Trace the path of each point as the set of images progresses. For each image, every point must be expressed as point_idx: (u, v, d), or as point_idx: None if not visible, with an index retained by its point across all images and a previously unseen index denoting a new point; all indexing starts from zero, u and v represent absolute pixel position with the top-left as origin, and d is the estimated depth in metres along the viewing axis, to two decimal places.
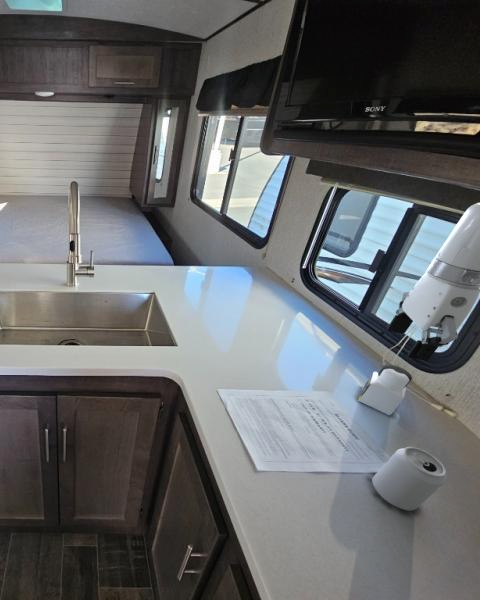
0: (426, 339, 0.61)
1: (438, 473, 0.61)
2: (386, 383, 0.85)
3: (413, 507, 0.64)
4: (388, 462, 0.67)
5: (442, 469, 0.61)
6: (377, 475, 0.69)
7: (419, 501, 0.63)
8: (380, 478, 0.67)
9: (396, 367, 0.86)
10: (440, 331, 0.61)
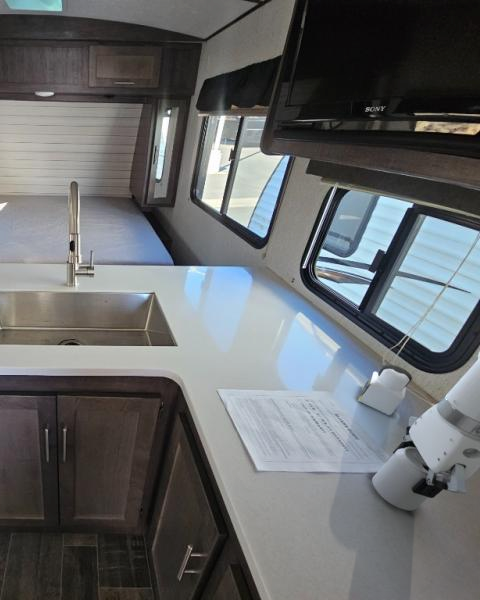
0: (432, 481, 0.58)
1: (438, 473, 0.61)
2: (386, 383, 0.85)
3: (413, 507, 0.64)
4: (388, 462, 0.67)
5: None
6: (377, 475, 0.69)
7: (419, 501, 0.63)
8: (380, 478, 0.67)
9: (396, 367, 0.86)
10: (448, 475, 0.58)
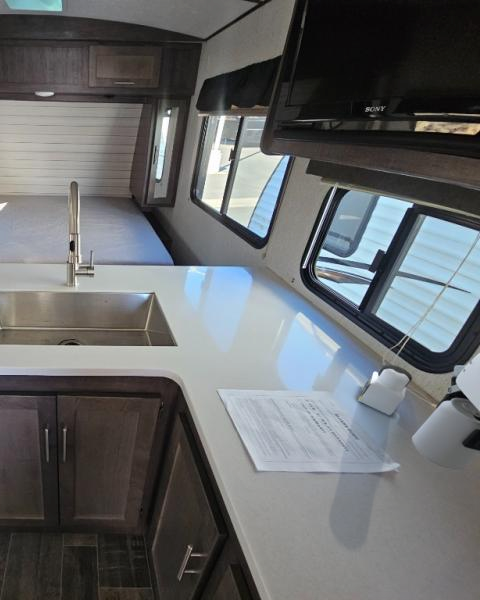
0: None
1: None
2: (386, 383, 0.85)
3: (462, 465, 0.57)
4: (431, 417, 0.59)
5: None
6: (418, 433, 0.61)
7: (470, 458, 0.56)
8: (422, 435, 0.60)
9: (396, 367, 0.86)
10: None
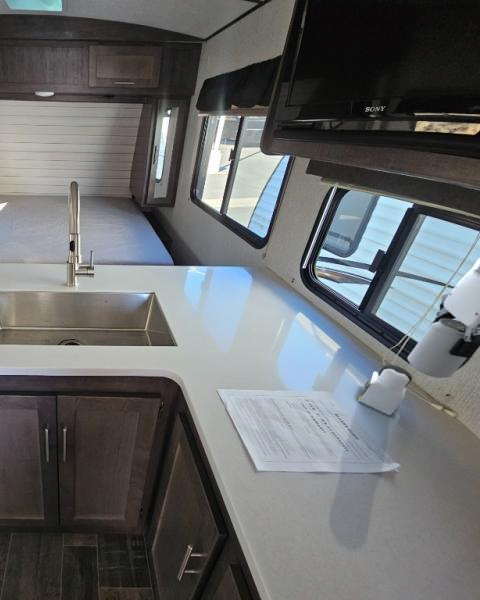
0: (470, 337, 0.63)
1: None
2: (386, 383, 0.85)
3: (449, 373, 0.69)
4: (424, 336, 0.71)
5: (477, 331, 0.66)
6: (412, 352, 0.73)
7: (455, 365, 0.68)
8: (416, 352, 0.72)
9: (396, 367, 0.86)
10: None
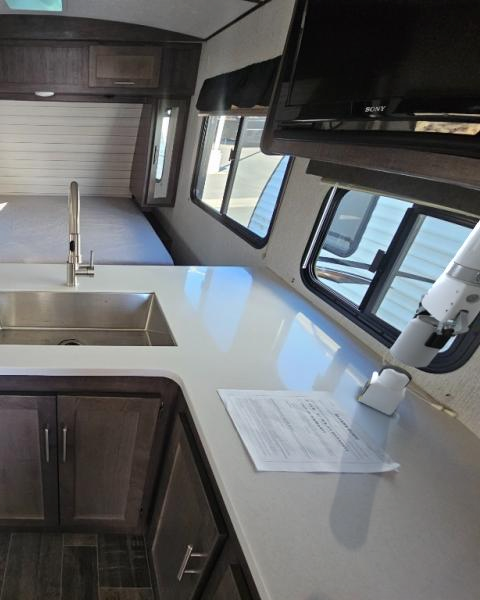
0: (441, 331, 0.73)
1: None
2: (386, 383, 0.85)
3: (425, 363, 0.78)
4: (404, 330, 0.81)
5: (449, 326, 0.75)
6: (394, 344, 0.83)
7: (430, 356, 0.77)
8: (397, 344, 0.82)
9: (396, 367, 0.86)
10: (454, 324, 0.72)
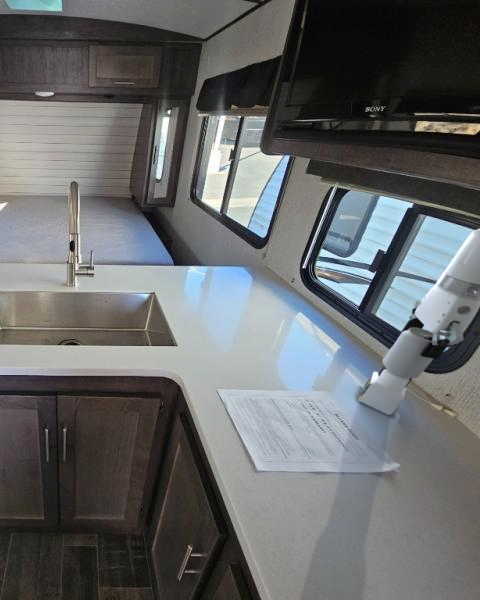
0: (436, 341, 0.73)
1: None
2: (386, 383, 0.85)
3: (416, 374, 0.80)
4: (396, 342, 0.83)
5: None
6: (387, 355, 0.85)
7: (421, 368, 0.79)
8: (389, 356, 0.84)
9: None
10: (448, 334, 0.73)
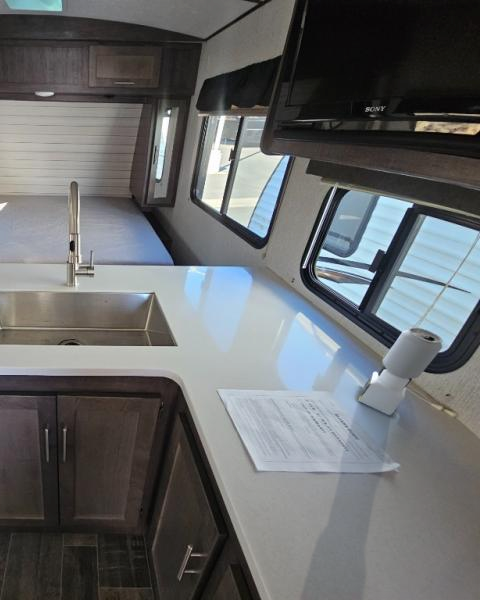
0: None
1: (436, 341, 0.77)
2: (386, 383, 0.85)
3: (416, 374, 0.80)
4: (396, 342, 0.83)
5: (439, 339, 0.77)
6: (387, 355, 0.85)
7: (421, 368, 0.79)
8: (389, 356, 0.84)
9: None
10: None
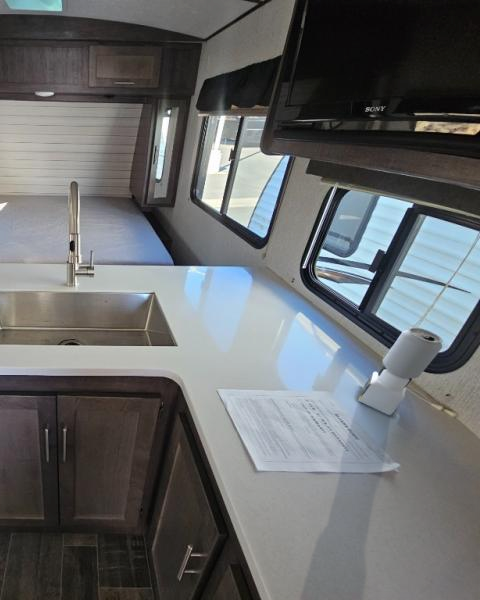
0: None
1: (436, 341, 0.77)
2: (386, 383, 0.85)
3: (416, 374, 0.80)
4: (396, 342, 0.83)
5: (439, 339, 0.77)
6: (387, 355, 0.85)
7: (421, 368, 0.79)
8: (389, 356, 0.84)
9: None
10: None
